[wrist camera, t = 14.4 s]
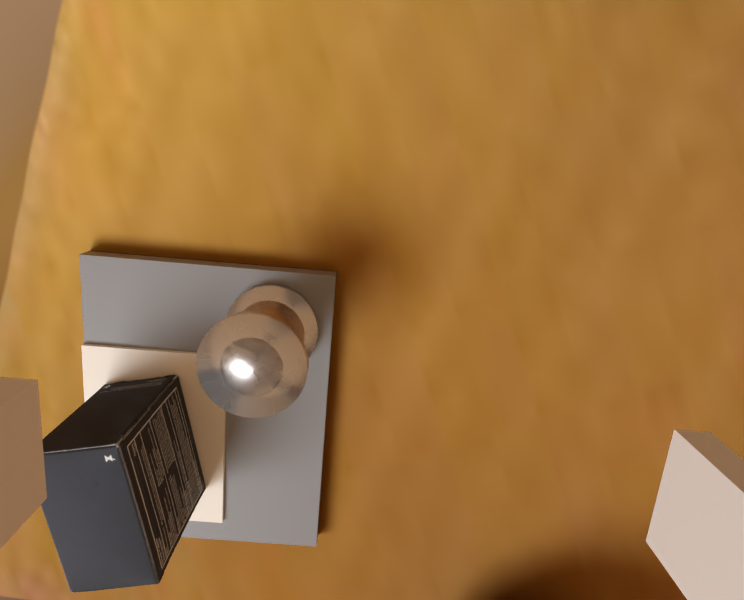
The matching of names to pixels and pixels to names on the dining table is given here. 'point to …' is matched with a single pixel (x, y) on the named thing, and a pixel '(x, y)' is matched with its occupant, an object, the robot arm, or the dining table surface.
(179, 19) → the dining table surface
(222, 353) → the bobbin
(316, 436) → the board
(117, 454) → the small box
